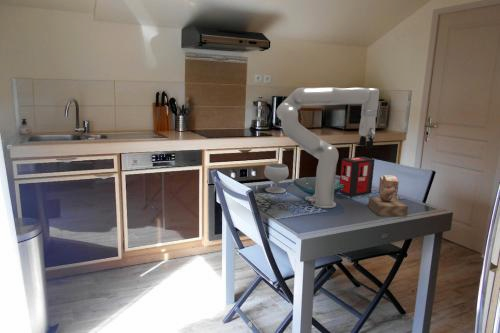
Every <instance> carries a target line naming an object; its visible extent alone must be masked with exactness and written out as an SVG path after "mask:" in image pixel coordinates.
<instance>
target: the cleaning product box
mask: <svg viewBox="0 0 500 333" xmlns="http://www.w3.org/2000/svg"><path fill="white" fill-rule="evenodd" d="M375 160H376V159H374V158H371V157H370V158H369V157H366V156H354V157H345V158H341V164H340V166H341V167H340V178H339V185H340V184H344V188H343V189H342V190H340V191H339V190H338V193H339V194H341V195H344V196H347V197H349V198H351V197H356V196H357V197H358V196H362V195H368V194H372V187H373V177H374V169H375V162H376V161H375Z"/></svg>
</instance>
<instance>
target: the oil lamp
mask: <svg viewBox="0 0 500 333" xmlns="http://www.w3.org/2000/svg"><path fill="white" fill-rule="evenodd" d="M395 190H396V186H393V187H392V188H390V189H384V188H383V189H382V190H381V192H379V196H378V197H380V199H381V200H382V201H390V200H391V199H392V196H393V193H394V192H395Z"/></svg>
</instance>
